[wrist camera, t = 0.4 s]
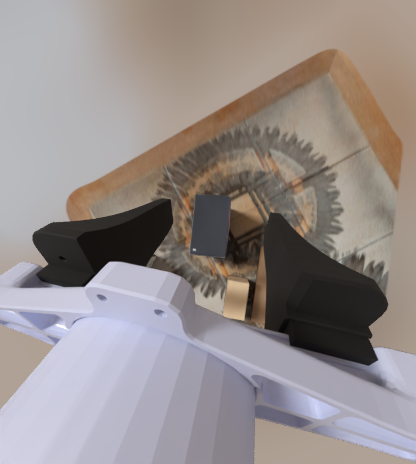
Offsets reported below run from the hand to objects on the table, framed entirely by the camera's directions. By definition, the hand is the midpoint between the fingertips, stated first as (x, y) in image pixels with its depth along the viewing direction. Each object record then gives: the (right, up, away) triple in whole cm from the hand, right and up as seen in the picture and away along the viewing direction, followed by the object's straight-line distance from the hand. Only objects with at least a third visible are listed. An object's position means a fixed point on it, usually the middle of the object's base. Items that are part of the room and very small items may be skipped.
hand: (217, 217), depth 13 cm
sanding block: (+5, -14, +26) cm, 30 cm away
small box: (+1, -1, +27) cm, 27 cm away
